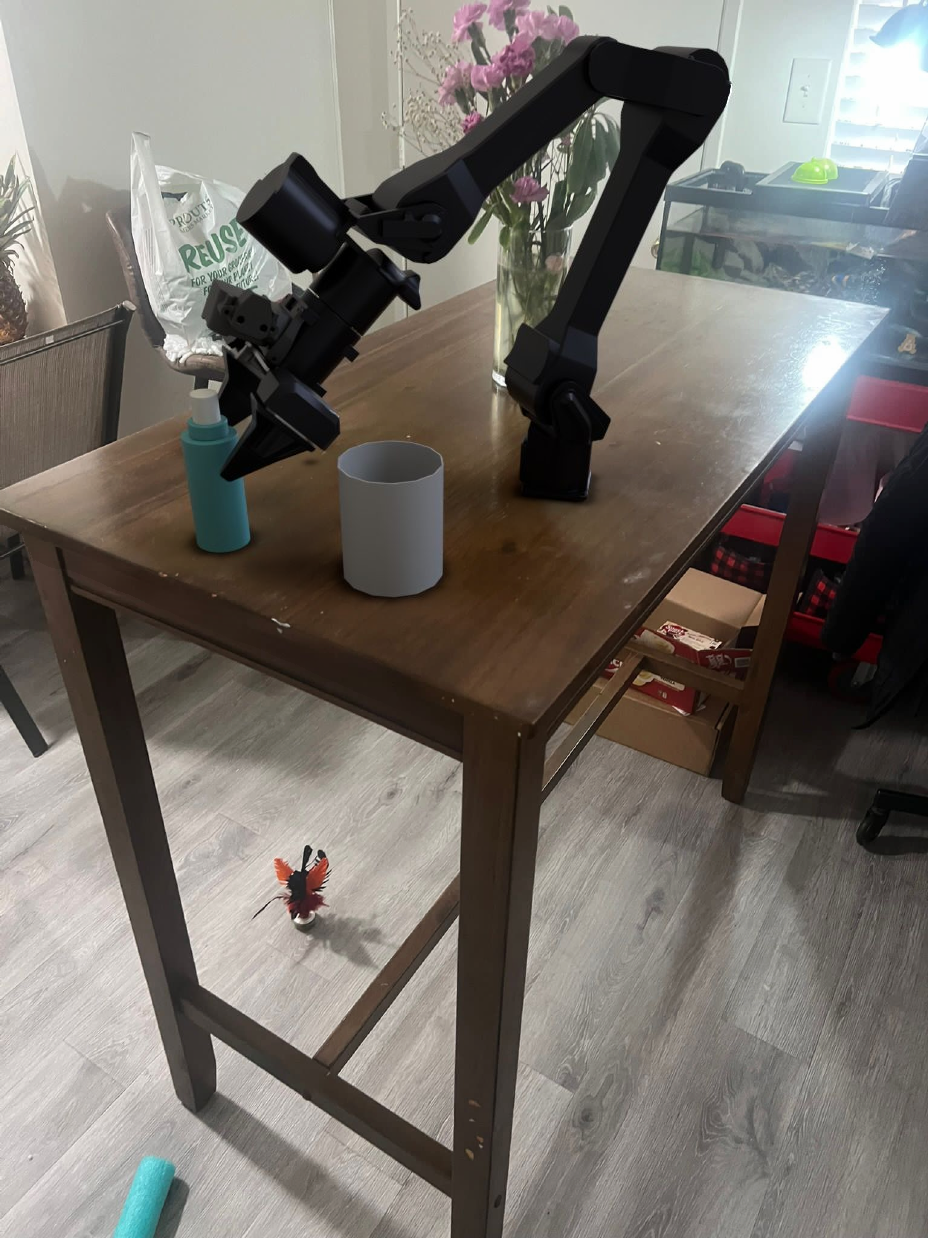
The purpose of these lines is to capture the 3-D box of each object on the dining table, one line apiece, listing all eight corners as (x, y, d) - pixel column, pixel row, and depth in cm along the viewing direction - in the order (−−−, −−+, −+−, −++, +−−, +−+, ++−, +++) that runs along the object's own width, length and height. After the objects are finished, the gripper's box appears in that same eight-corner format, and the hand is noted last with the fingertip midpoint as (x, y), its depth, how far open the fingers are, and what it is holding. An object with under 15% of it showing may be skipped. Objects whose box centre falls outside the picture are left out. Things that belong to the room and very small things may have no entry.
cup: (418, 605, 72) (418, 491, 67) (326, 585, 75) (318, 473, 69) (456, 557, 79) (458, 449, 74) (370, 539, 81) (366, 434, 76)
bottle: (257, 530, 82) (241, 385, 75) (238, 555, 78) (218, 405, 71) (210, 525, 83) (188, 381, 75) (188, 549, 79) (163, 400, 72)
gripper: (235, 219, 76) (120, 362, 78) (286, 269, 62) (144, 442, 64) (331, 308, 83) (223, 437, 85) (397, 372, 69) (266, 524, 71)
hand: (214, 456), depth 76 cm, fingers open, 9 cm apart
